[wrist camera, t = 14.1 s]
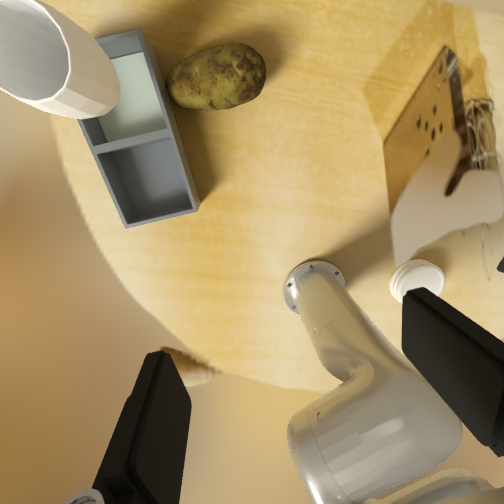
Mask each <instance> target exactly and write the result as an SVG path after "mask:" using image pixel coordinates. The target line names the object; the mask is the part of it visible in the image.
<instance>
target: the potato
mask: <svg viewBox="0 0 504 504" xmlns="http://www.w3.org/2000/svg"><path fill="white" fill-rule="evenodd" d="M265 79H266V66H265V62H264V60H263V58H262V56H261V55H260V54H259V53H258V52H257V51H256V50H254V48H252V47H250V46H248V45H245V44H242V43H231V44H227V45H220V46H217V47H214V48H211V49H208V50H205V51H202V52H199V53H196V54H194V55H192V56H190V57H188V58H186V59H185V60H183V61H182V62H180V63H179V64H178V65H177V66H176V67H175V68H174V69H173V70H172V72H171V73H170V74H169V76H168V77H167V80H166V89H167V92H168V95H169V97H170V99H171V100H172V101H173V102H174V104H175V105H177V106H178V107H184V108H188V109H200V110H221V109H230V108H233V107H236V106H238V105H241V104H243V103H246V102H249V101H251V100H253V99H254V98H256V97H257V96H258V95H259V94H260V92H261V90H262V89H263V86H264V83H265Z"/></svg>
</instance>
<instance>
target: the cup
mask: <svg viewBox="0 0 504 504" xmlns="http://www.w3.org/2000/svg"><path fill="white" fill-rule="evenodd" d="M0 89H1V90H2V91H4V92H6V93H8V94H9V95H11V96H13V97H15V98H17V99H18V100H20V101H22V102H25V103H27V104H29V105H31V106H33V107H36V108H38V109H40V110H42V111H45V112H49V113H53V114H57V115H61V116H65V117H71V118H76V119H87V118H93V117H97V116H101V115H105V114H106V113H108V112H109V111H110V110H111V109H112V108H113V107H115V106H116V105H117V102H118V100H119V97H120V81H119V78H118V76H117V73H116V70H115V67H114V65H113V63H112V61H111V60H110V59H109V57H108V56H107V54H106V53H105V52H104V51H103V49H102V48H101V47H100V45H99V44H98V43H97V41H96V40H95V39H94V37H93V36H92V35H91V34H89V33H88V32H87V31H85V30H84V29H83V28H81V27H80V26H79V25H77V24H76V23H74V22H73V21H72V20H70V19H69V18H67V17H66V16H65V15H63V14H62V13H60V12H59V11H57V10H56V9H54V8H53V7H51V6H49V5H47V4H45V3H43V2H41V1H39V0H0Z"/></svg>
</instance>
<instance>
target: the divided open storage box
mask: <svg viewBox="0 0 504 504" xmlns="http://www.w3.org/2000/svg"><path fill="white" fill-rule="evenodd" d="M95 40H96V41H97V43H98V44H99V45H100V47H101V48H102V49H103V51H104V52H105V53H106V54H107V56H108V57H109V59H110V60H111V61H112V63H113V65H114V67H115V70H116V73H117V76H118V78H119V81H120V97H119V100H118V102H117V105H116V106H115V107H113V108H112V109H111V110H110V111H109V112H108V113H106V114H105V115H101V116H97V117H93V118H87V119H77V120H78V122H79V125H80V127H81V129H82V131H83V134H84V136H85V138H86V140H87V143H88V145H89V147H90V150H91V152H92V154H93V156H94V159H95V161H96V163H97V165H98V168H99V170H100V172H101V174H102V177H103V179H104V181H105V184H106V186H107V188H108V190H109V193H110V195H111V197H112V199H113V202H114V204H115V206H116V208H117V211H118V213H119V215H120V218H121V220H122V222H123V224H124V227H125V229H126V228H130V227H134V226H139V225H143V224H147V223H151V222H155V221H159V220H163V219H168V218H172V217H176V216H180V215H184V214H188V213H192V212H197V211H198V209H199V206H200V204H201V202H200V199H199V195H198V192H197V189H196V185H195V182H194V179H193V176H192V172H191V169H190V166H189V162H188V159H187V156H186V152H185V149H184V146H183V143H182V139H181V136H180V133H179V129H178V126H177V123H176V120H175V116H174V113H173V110H172V106H171V103H170V100H169V96H168V93H167V90H166V87H165V83H164V80H163V77H162V73H161V70H160V67H159V63H158V60H157V57H156V54H155V50H154V47H153V46H152V44H151V43H150V42H149V40H148V39H147V37H146V36H145V35H144V33H143V32H142V30H141V29H135V30H131V31H127V32H123V33H119V34H114V35H110V36H106V37H102V38H98V39H95Z"/></svg>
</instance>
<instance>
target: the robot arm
mask: <svg viewBox="0 0 504 504" xmlns="http://www.w3.org/2000/svg"><path fill="white" fill-rule="evenodd" d="M310 265H311V266H310ZM283 296H284V299H285V302H286V304H287V305H288V307H289V308H290V309H291V310H292V311H293V312H295V313H297V314H299V315H300V317H301V319H302V321H303V324H304V326H305V328H306V330H307V333H308V335H309V337H310V339H311V342H312V344H313V346H314V349H315V351H316V353H317V355H318V357H319V360H320V361H321V363H322V365H323V366H324V367H325V369H326V370H327V371H328V372H329V373H330V374H332V375H333V376H334V377H336V378H338V379H339V380H341V381H343V382H344V383H342V384H340V385H339V386H338V387H337V388H335V389H334V390H332V391H330V392H328V393H327V394H325V395H323V396H322V397H320V398H318V399H317V400H315V401H313V402H311V403H310V404H308V405H306V406H305V407H303V408H302V409H300V410H299V411H297V412H296V413H295V414H294V415H293V416H292V418H291V419H290V421H289V424H288V428H287V440H288V445H289V449H290V453H291V456H292V459H293V461H294V464H295V467H296V469H297V471H298V473H299V476H300V478H301V480H302V482H303V484H304V486H305V488H306V490H307V492H308V494H309V497H310V498H311V501H312V502H313V504H504V487H502V488H498V489H495V488H494V487H493V486H492V485H491V484H490V483H489V482H488V481H486V480H485V479H484V478H482V477H481V476H479V475H478V474H476V473H475V472H472V471H470V470H467V469H461V468H454V469H447V470H444V471H441V472H438V473H435V474H433V475H431V476H428V477H426V478H424V479H422V480H420V481H417V482H416V483H414V484H412V485H410V486H407V487H405V488H404V489H401V490H400V491H398V492H395V493H393V494H391V495H389V496H387V497H385V498H382V499H380V500H376V499H374V498H372V497H374V496H376V495H378V494H380V493H382V492H384V491H386V490H388V489H390V488H392V487H394V486H398V485H400V484H402V483H404V482H406V481H408V480H410V479H413V478H415V477H417V476H419V475H421V474H423V473H425V472H427V471H428V470H430V469H432V468H434V467H436V466H438V465H439V464H441V463H442V462H444V461H445V460H446V459H448V458H449V457H450V456H451V455H452V454H453V453H454V452H455V451H456V449H457V448H458V446H459V444H460V442H461V439H462V434H463V430H462V422H463V423H464V425H465V426H466V427H467V428H468V429H469V430H470V431H471V433H472V434H473V435H474V436H475V437H476V439H477V440H478V441H479V442H480V443H481V444H483V445H484V446H489V447H490V449H491V450H492V451H493V452H494V453H495V454H496V455H497V456H498V457H501V456H504V343H503V342H502V341H501V340H499V339H498V338H497V337H495V336H494V335H492V334H491V333H490V332H488V331H487V330H485V329H484V328H482V327H481V326H480V325H478V324H477V323H475V322H474V321H472V320H471V319H470V318H468V317H467V316H465V315H464V314H462V313H461V312H460V311H458V310H457V309H455V308H454V307H452V306H451V305H450V304H448V303H447V302H445V301H444V300H443V299H441V298H440V297H438V296H437V295H435V294H434V293H433V292H431V291H430V290H428V289H427V288H425V287H419V288H415V289H411V290H408V291H407V292H406V295H404V296H403V299H402V350H403V353H404V355H405V356H406V357H407V358H408V359H407V358H406V357H405V356H403V355H402V354H401V353H400V352H399V351H398V350H397V349H396V348H395V347H394V346H393V345H392V344H391V343H390V342H389V340H388V339H387V338H386V337H385V336H384V335H383V334H382V333H381V331H380V330H379V329H378V328H377V327H376V325H375V324H374V323H373V322H372V321H371V320H370V318H369V317H368V316H367V315H366V314H365V312H364V311H363V310H362V309H361V308H360V306H359V305H358V304H357V303H356V302H355V300H354V299H353V298H352V297H351V296H350V295H349V293H348V292H347V291H346V290H345V280H344V277H343V275H342V273H341V272H340V270H339V269H338V268H337V267H336V266H334V265H333V264H331V263H329V262H326V261H321V260H315V261H309V262H306V263H303V264H301V265H300V266H298V267H296V268H295V269H294V270H293V271H292V272H291V273H290V274H289V275H288V277H287V279H286V281H285V283H284V287H283ZM191 407H192V406H191V399H190V396H189V394H188V392H187V390H186V388H185V386H184V384H183V381H182V379H181V377H180V375H179V373H178V371H177V368H176V366H175V364H174V362H173V360H172V358H171V356H170V354H169V353H165V352H164V351H163V350H161V351H156V352H152V353H148V354H147V355H146V357H145V359H144V363H143V365H142V367H141V370H140V373H139V375H138V378H137V380H136V383H135V386H134V388H133V391H132V394H131V395H130V396H129V397H128V398H127V401H126V402H125V405H124V407H123V410H122V412H121V415H120V417H119V420H118V422H117V425H116V427H115V430H114V433H113V435H112V438H111V440H110V443H109V446H108V448H107V450H106V453H105V455H104V458H103V460H102V463H101V466H100V468H99V471H98V473H97V476H96V478H95V481H94V483H93V486H92V488H91V489H86V490H83V491H81V492H79V493H77V494H75V495H74V496H72V497H71V498H70V499H69V500H67V501H66V502H65V503H64V504H179V500H180V492H181V485H182V477H183V469H184V461H185V454H186V446H187V439H188V431H189V423H190V415H191ZM461 421H462V422H461Z"/></svg>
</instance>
